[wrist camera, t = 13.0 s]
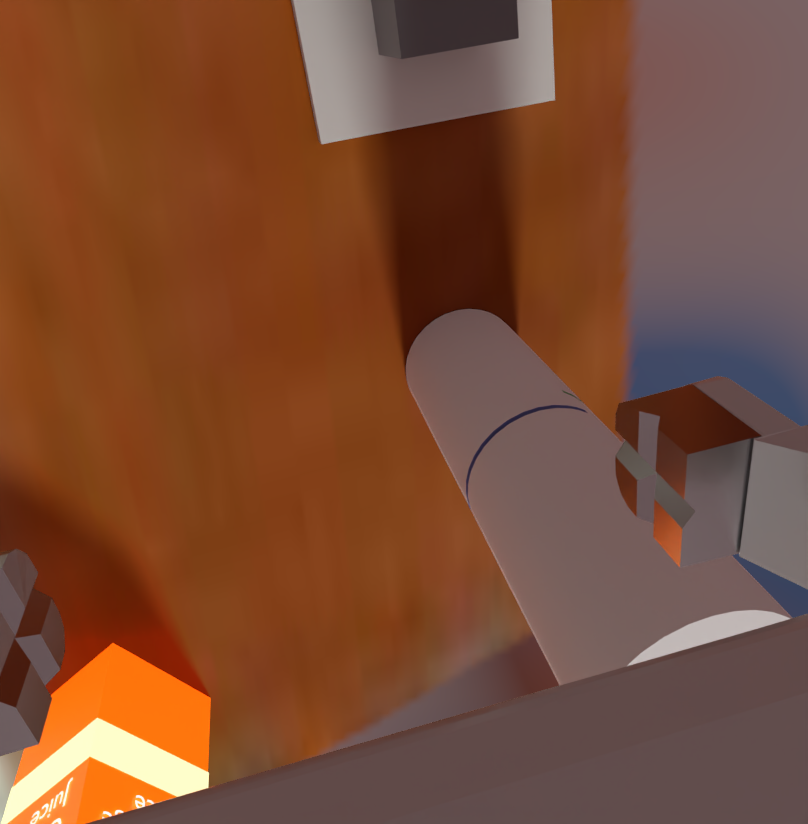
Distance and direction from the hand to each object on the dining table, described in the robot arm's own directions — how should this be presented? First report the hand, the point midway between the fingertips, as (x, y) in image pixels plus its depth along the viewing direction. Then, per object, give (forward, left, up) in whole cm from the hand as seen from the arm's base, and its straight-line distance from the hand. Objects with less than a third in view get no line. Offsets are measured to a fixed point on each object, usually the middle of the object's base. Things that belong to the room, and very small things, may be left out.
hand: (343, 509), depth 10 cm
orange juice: (-18, -33, -29) cm, 48 cm away
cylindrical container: (+9, -13, -29) cm, 33 cm away
